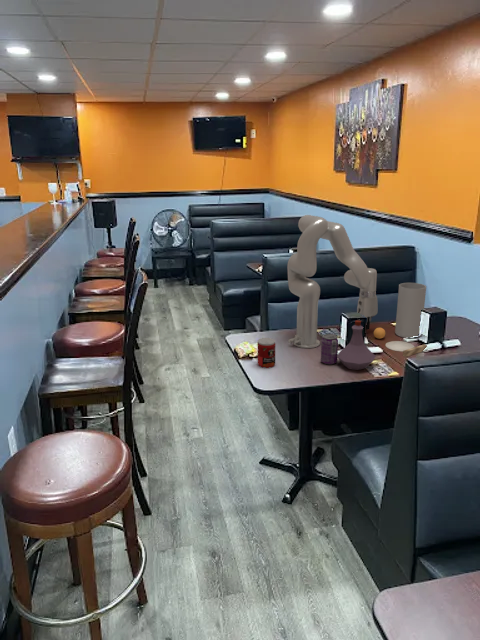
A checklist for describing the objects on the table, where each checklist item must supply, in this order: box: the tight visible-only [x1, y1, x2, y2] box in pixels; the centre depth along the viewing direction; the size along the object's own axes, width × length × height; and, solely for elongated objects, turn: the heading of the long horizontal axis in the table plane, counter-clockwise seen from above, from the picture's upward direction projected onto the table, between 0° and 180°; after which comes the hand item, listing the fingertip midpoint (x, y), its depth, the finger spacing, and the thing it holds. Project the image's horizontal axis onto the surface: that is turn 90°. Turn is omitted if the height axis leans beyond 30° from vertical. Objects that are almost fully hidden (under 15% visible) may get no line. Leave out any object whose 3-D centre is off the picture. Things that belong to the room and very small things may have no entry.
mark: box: [385, 340, 415, 353], centre depth 234 cm, size 13×13×1 cm
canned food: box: [257, 337, 276, 369], centre depth 214 cm, size 8×8×11 cm
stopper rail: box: [402, 343, 428, 358], centre depth 225 cm, size 14×2×2 cm, turn 121°
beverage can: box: [320, 333, 339, 365], centre depth 215 cm, size 7×7×12 cm
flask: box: [337, 319, 376, 371], centre depth 210 cm, size 16×16×20 cm
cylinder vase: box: [394, 282, 427, 339], centre depth 245 cm, size 12×12×25 cm
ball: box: [373, 327, 386, 340], centre depth 243 cm, size 6×6×6 cm
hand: (366, 328), depth 251 cm, fingers closed
